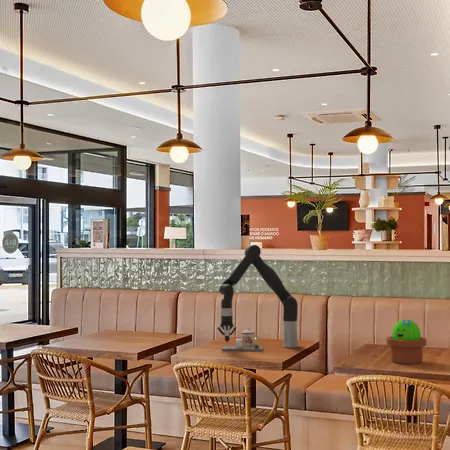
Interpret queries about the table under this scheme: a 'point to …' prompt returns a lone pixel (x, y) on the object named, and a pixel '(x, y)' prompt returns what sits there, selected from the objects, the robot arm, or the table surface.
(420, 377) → the table surface
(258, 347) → the plate
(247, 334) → the teacup with lid
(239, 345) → the light grey block
